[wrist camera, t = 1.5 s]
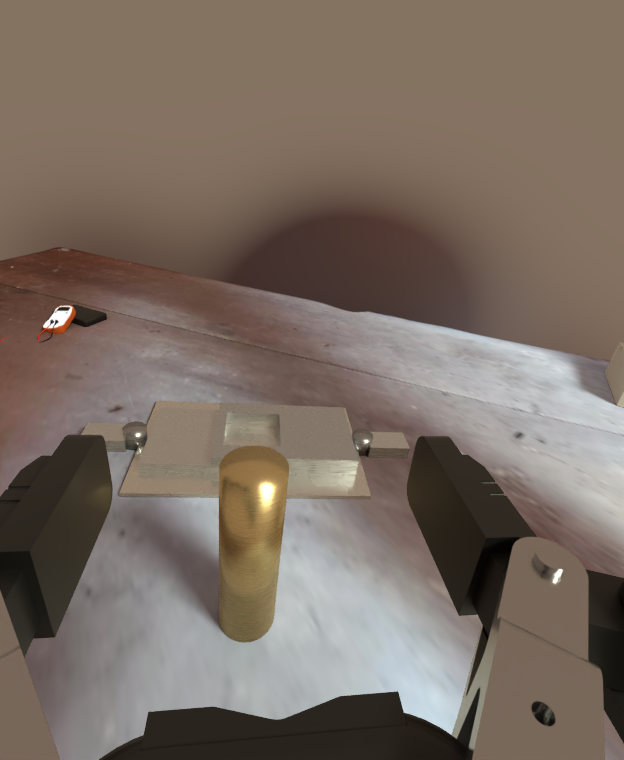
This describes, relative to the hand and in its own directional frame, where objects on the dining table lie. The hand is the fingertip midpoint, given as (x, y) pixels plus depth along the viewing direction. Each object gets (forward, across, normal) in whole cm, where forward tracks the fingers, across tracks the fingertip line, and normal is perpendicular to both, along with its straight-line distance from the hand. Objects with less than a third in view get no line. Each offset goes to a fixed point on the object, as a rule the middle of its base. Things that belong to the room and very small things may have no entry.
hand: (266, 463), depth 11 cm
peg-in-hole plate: (+32, 0, +22) cm, 38 cm away
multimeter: (+59, +32, +20) cm, 70 cm away
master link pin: (+12, 0, +23) cm, 26 cm away
